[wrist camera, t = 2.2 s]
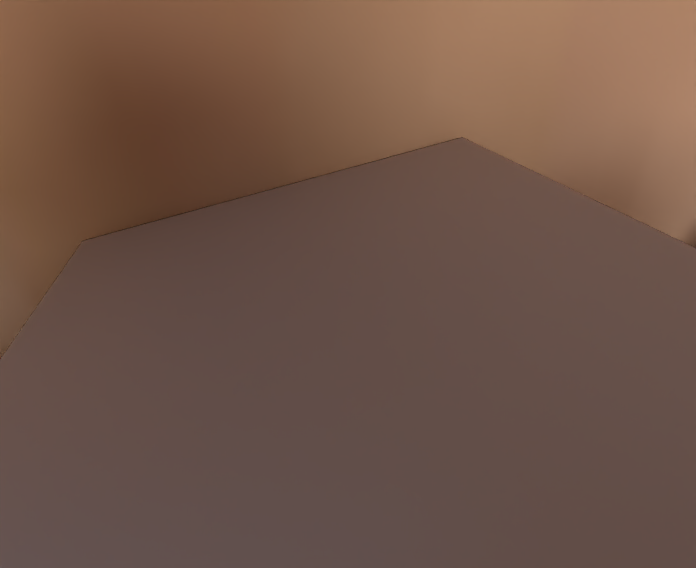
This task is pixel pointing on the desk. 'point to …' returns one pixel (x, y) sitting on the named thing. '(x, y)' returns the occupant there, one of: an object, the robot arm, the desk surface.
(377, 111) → the desk surface
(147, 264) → the matte gray cube
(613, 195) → the desk surface
